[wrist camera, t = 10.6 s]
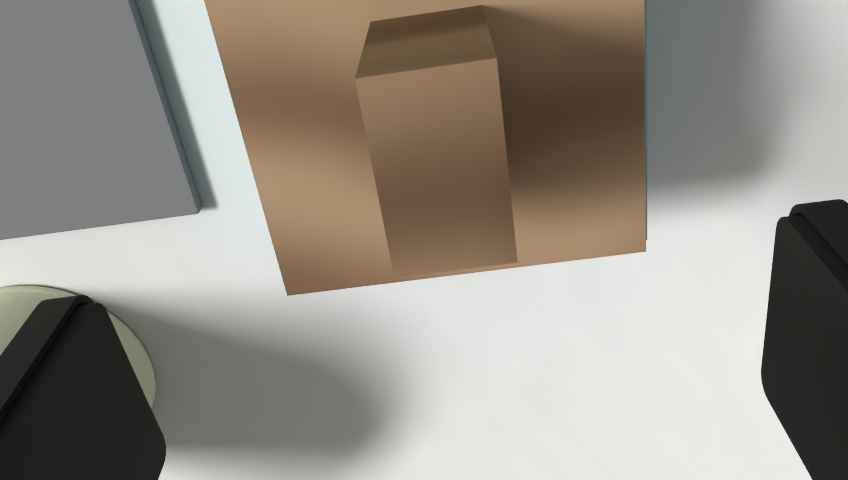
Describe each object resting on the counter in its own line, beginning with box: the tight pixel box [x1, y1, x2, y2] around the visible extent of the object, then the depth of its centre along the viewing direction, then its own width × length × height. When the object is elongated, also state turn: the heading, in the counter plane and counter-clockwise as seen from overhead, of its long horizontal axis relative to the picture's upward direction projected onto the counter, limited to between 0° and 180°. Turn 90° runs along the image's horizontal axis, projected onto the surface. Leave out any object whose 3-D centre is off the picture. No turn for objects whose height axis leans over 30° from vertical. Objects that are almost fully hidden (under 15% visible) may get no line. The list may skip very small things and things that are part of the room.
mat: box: [0, 0, 202, 240], centre depth 28 cm, size 10×10×1 cm
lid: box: [204, 0, 646, 296], centre depth 20 cm, size 12×12×6 cm
